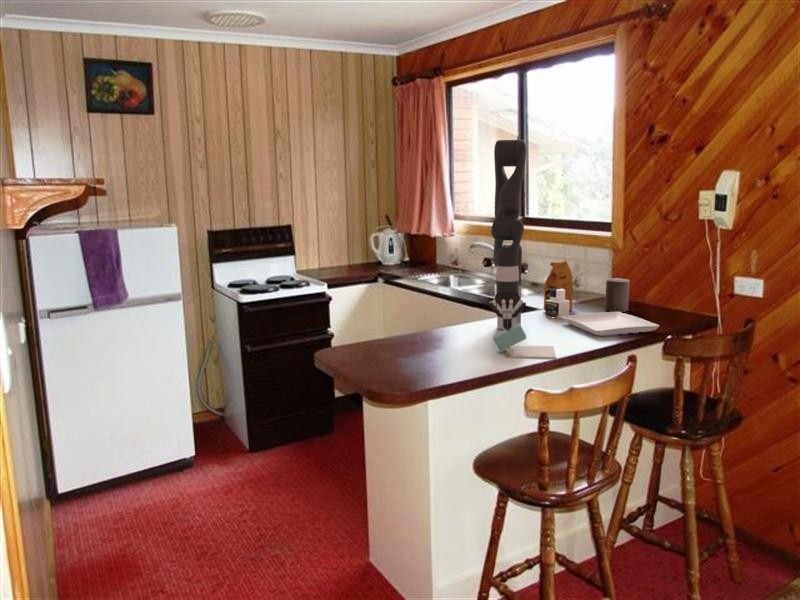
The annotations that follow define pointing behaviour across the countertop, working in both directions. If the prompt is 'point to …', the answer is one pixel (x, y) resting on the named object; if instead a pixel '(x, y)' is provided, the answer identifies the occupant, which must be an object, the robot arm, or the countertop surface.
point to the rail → (508, 352)
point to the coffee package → (559, 281)
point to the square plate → (610, 323)
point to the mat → (533, 352)
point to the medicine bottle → (557, 304)
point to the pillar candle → (617, 295)
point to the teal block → (509, 337)
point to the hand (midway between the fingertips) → (507, 329)
